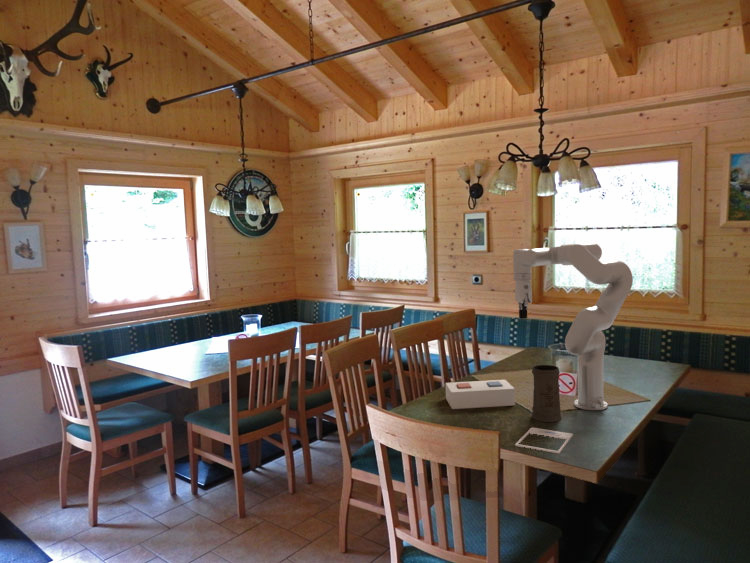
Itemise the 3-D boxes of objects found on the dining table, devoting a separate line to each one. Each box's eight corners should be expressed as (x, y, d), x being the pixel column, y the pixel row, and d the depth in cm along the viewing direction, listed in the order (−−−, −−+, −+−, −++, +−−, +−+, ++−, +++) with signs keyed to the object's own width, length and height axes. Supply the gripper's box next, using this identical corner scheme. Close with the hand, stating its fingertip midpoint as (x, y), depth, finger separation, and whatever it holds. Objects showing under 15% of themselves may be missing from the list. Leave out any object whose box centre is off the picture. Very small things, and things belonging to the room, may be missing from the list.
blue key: (502, 393, 235) (501, 384, 234) (490, 394, 235) (490, 385, 234) (498, 390, 240) (498, 381, 239) (487, 391, 239) (487, 381, 239)
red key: (471, 395, 234) (471, 386, 234) (459, 396, 234) (459, 386, 234) (468, 392, 239) (468, 382, 239) (457, 392, 239) (456, 383, 239)
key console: (515, 405, 231) (514, 388, 230) (452, 409, 230) (451, 392, 229) (505, 395, 245) (505, 379, 244) (446, 398, 244) (445, 382, 243)
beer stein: (567, 421, 210) (565, 368, 209) (540, 424, 208) (538, 370, 207) (548, 411, 225) (546, 361, 224) (523, 413, 223) (520, 363, 223)
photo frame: (573, 433, 196) (559, 451, 181) (573, 436, 196) (559, 454, 181) (531, 426, 204) (515, 443, 189) (531, 429, 204) (515, 446, 189)
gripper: (536, 278, 241) (537, 320, 243) (525, 275, 256) (526, 315, 258) (519, 278, 241) (520, 321, 242) (509, 276, 255) (510, 316, 257)
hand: (523, 318), depth 250 cm, fingers closed
